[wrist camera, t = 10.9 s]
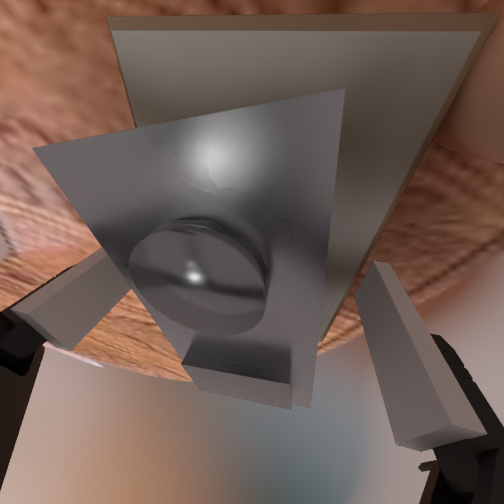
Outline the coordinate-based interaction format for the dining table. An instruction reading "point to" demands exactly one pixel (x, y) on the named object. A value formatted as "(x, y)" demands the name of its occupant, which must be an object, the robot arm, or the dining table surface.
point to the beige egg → (479, 100)
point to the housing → (220, 234)
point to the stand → (313, 82)
